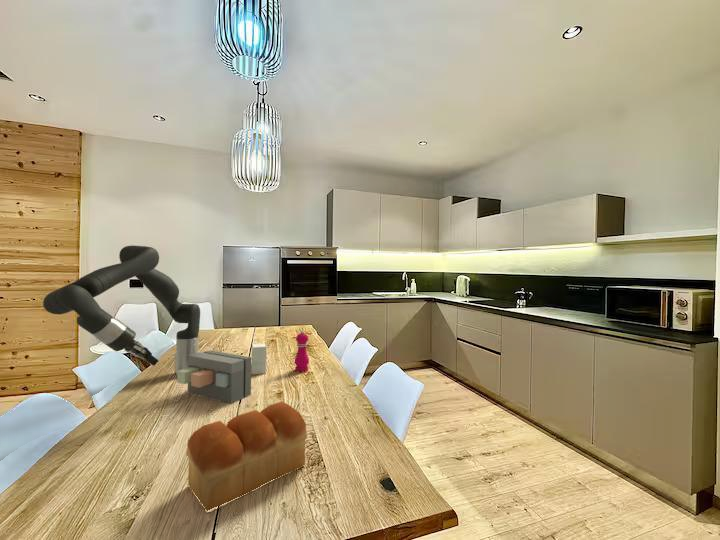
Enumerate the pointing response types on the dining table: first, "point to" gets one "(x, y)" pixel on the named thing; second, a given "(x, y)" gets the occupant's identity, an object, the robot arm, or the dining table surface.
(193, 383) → the terracotta key
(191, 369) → the sage key
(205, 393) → the keypad console
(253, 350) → the small box
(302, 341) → the pepper mill
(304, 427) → the bread
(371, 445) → the dining table surface
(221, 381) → the grey rectangular block
